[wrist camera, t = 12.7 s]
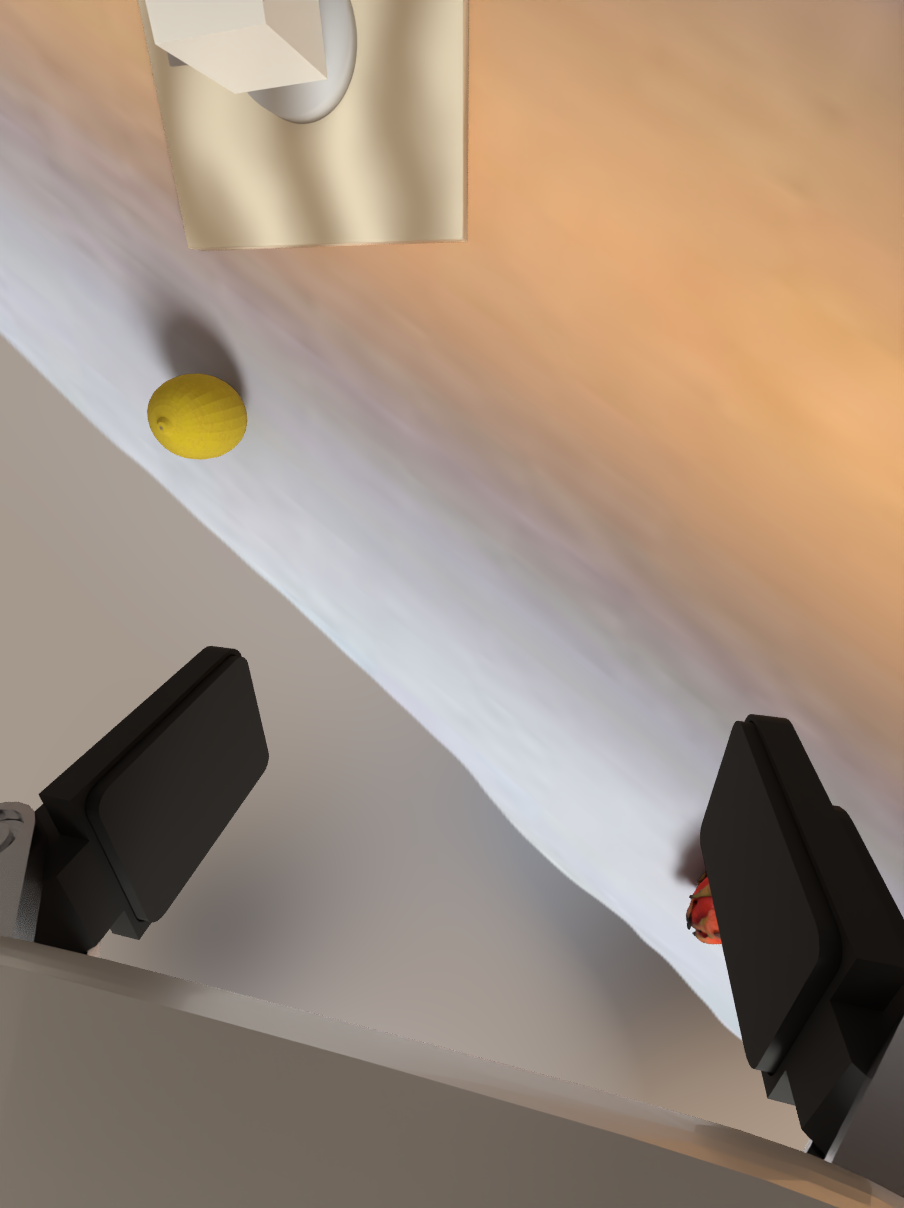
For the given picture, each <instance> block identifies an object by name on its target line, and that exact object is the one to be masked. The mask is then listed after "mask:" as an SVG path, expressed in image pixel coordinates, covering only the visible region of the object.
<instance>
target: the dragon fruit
mask: <svg viewBox="0 0 904 1208" xmlns="http://www.w3.org/2000/svg"><path fill="white" fill-rule="evenodd" d="M697 882H698V885H699V886H698V887H697V889H696V891H695V892H694V894H693V895H690V897H689V898H690V899H691V903H690V906H689V908H688V910H687V913H686V920H687V922H688V923H687V928H688V929H689V930H690V928H691V926H692V927H693V928H695V929H696V931H695V932H693V933H692V934H693V935H694V936H696V937H697V939H699V940H700V941H701V942H703V943H705V942H706V943H707V944H722V942H721V938H720V933H719V928H718V924H717V919H716V914H715V910H714V905H713V900H712V896H711V891H710V886H709V882H708V877H707V872H706V871H705V873H704V874H703V875H702V876H701V878H700V879H699V880H698V881H697Z"/></svg>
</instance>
